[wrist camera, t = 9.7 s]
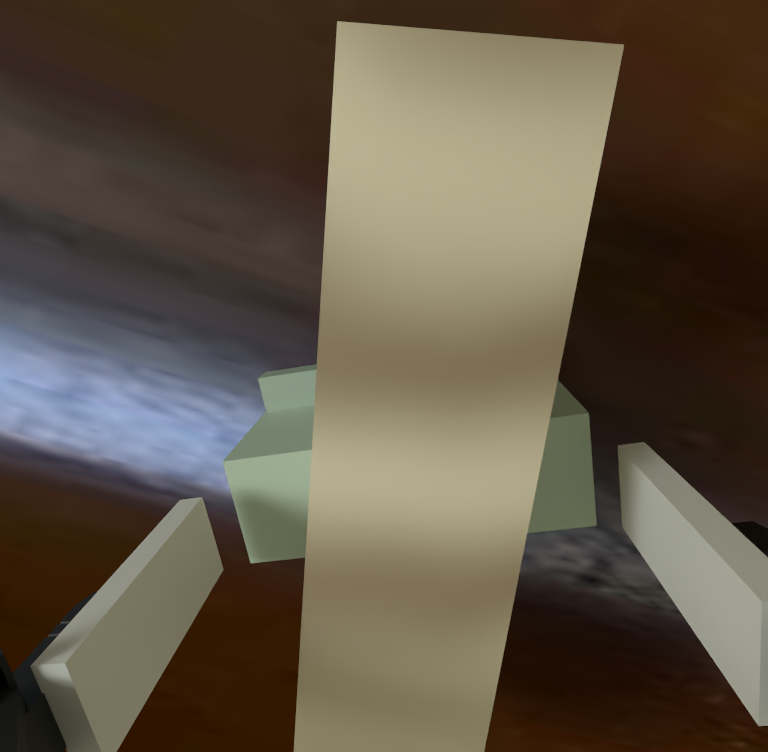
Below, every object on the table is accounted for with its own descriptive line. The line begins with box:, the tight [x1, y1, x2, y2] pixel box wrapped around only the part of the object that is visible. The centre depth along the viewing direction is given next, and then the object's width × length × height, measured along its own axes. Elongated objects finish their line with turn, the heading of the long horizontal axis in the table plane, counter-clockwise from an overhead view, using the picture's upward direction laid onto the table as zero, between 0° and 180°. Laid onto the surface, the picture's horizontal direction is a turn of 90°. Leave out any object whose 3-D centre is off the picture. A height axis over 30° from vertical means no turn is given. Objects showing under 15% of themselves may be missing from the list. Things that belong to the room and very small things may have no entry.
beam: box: [294, 21, 624, 752], centre depth 15 cm, size 24×5×5 cm, turn 175°
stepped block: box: [223, 364, 597, 563], centre depth 20 cm, size 12×7×6 cm, turn 100°
